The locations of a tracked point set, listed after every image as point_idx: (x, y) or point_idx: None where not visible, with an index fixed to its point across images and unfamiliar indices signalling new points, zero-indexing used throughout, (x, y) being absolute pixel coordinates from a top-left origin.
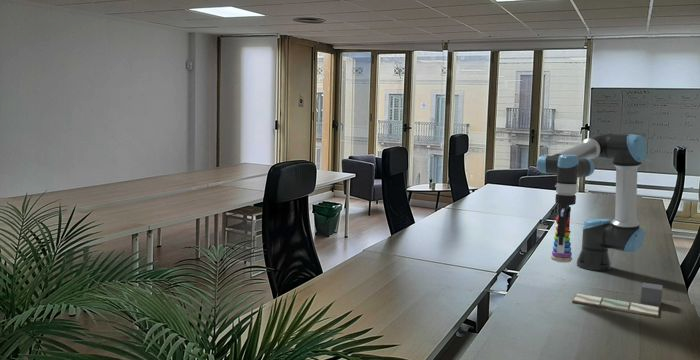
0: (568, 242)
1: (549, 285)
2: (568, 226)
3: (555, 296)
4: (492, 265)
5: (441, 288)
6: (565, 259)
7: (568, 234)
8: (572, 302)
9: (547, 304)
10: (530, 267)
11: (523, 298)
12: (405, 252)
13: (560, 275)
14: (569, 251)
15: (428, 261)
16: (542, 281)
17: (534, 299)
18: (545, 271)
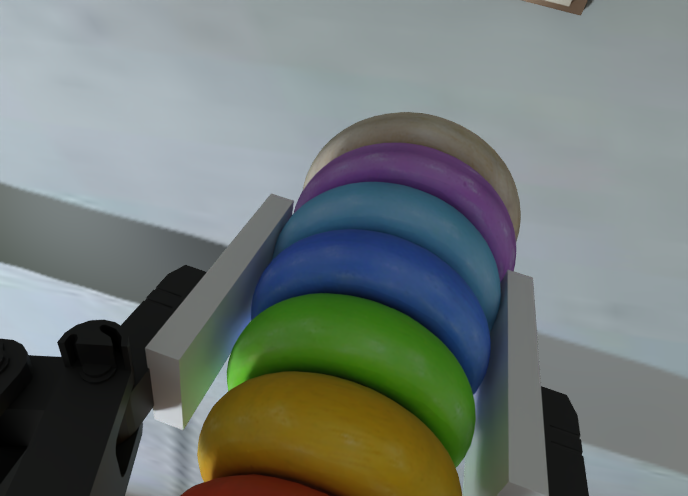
0: (420, 309)
1: (255, 120)
2: (35, 482)
3: (456, 110)
4: (101, 311)
5: (461, 488)
6: (517, 209)
7: (406, 453)
8: (580, 10)
9: (629, 176)
10: (17, 175)
11: (531, 275)
12: (140, 484)
13: (36, 34)
14: (456, 210)
15: (187, 459)
16: (203, 148)
17: (539, 229)
18: (26, 112)
